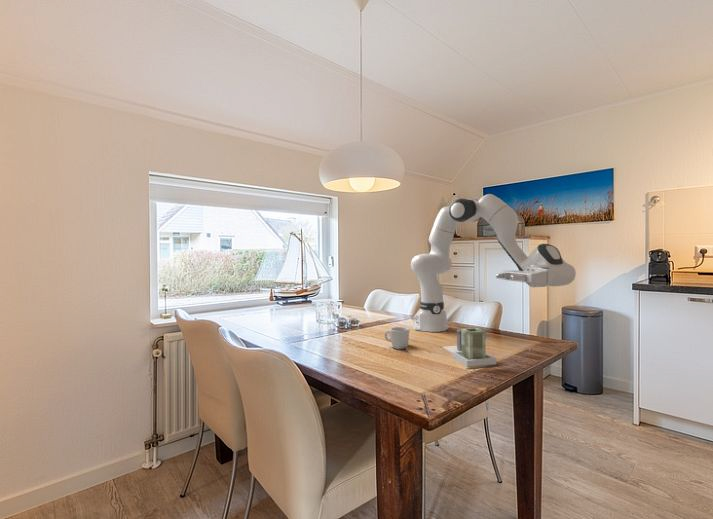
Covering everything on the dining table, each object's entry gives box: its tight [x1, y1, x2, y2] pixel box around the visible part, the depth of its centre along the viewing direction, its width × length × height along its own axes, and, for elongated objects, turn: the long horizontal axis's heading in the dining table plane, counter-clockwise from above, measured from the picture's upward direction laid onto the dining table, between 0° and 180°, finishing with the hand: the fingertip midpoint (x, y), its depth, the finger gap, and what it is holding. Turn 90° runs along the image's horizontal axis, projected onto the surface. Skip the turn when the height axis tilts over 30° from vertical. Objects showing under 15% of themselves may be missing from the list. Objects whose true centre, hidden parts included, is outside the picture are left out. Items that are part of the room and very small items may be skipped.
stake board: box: [442, 328, 462, 354], centre depth 142 cm, size 10×10×9 cm
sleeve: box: [460, 327, 487, 360], centre depth 127 cm, size 6×6×11 cm
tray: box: [451, 351, 497, 370], centre depth 127 cm, size 11×11×3 cm
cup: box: [384, 326, 410, 350], centre depth 150 cm, size 11×8×8 cm
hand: (504, 277), depth 137 cm, fingers open, 8 cm apart
